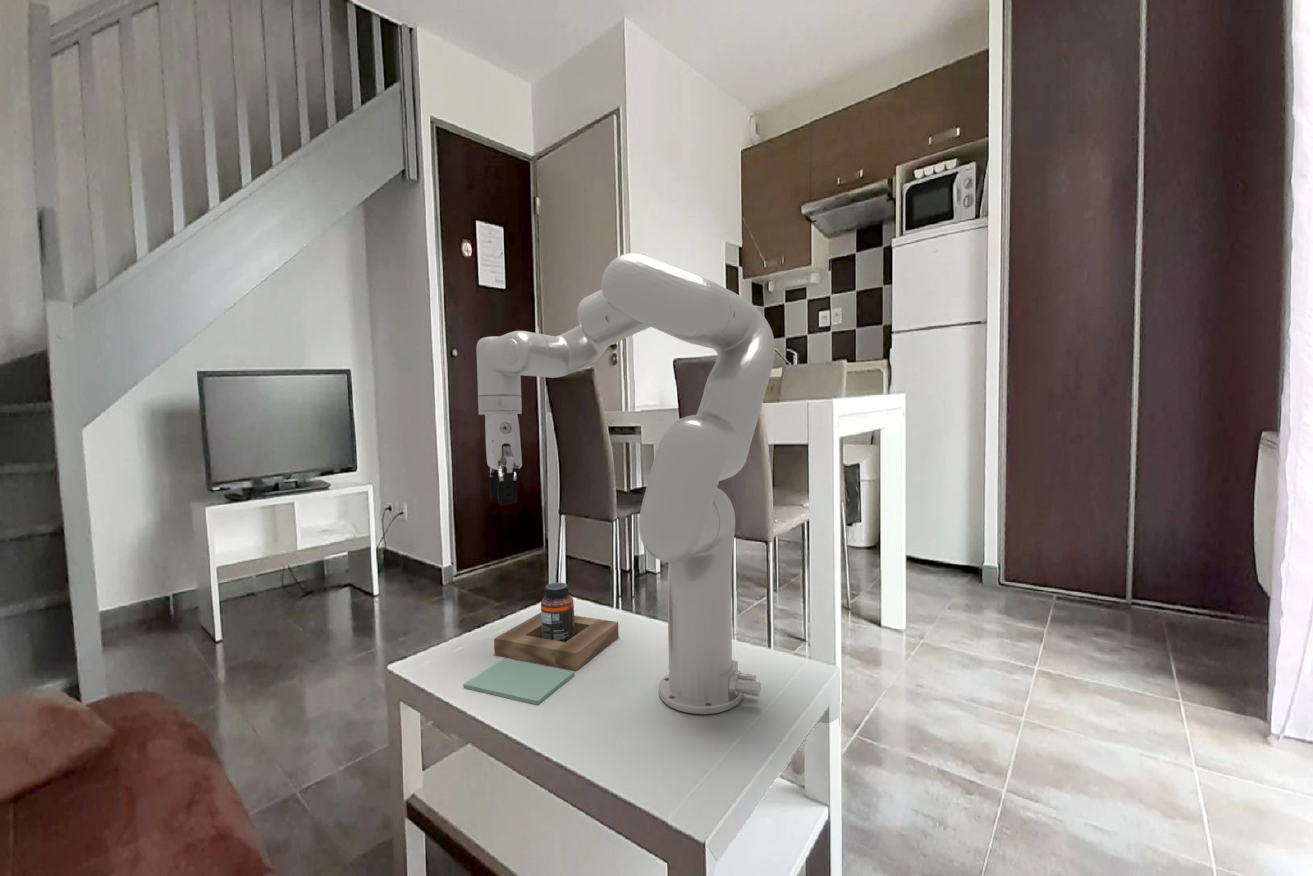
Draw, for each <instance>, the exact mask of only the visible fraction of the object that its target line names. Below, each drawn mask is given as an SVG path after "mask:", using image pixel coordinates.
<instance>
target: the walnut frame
mask: <svg viewBox="0 0 1313 876" xmlns="http://www.w3.org/2000/svg"><path fill="white" fill-rule="evenodd" d="M574 628H575V636H574V637H572V638H571V639H569V640H568V641H566V642H561V641H555V640H549V639H544V638H542V620H541V612H539V613H537V614H536V615H534V616H532V617H530V618H528V619H527V620H524V621H522V622H521V623H520V624H517V625H516V626H514V627H512V628H510V629H509V630H507V631H504V632H503V633H501V634H500V635H497V636H496V637H494V638H493V643H494V645H493V646H494V647H493V649H494V651H493V652H494V656H496V657H503V658H506V659H511V660H516V661H521V662H526V663H532V664H537V665H542V666H547V667H552V668H557V669H562V670H567V671H573V672H577V671H579V670H580V669H581V668H582V667H584V666H585V665H586V664H588V663H589V662H590V661H591V660H592V659H594V658H595V657H596V656H598V655H599V654H600V653H601V652H603V651H604V650H605V649H606V648H608V646H610V645H611V644H613V643H614V642H615V641H616V640H617V639H619V638H620V637H619V622H618V621H616V620H615V621H614V620H607V619H599V618H594V617H588V616H587V617H586V616H579V615H574Z"/></svg>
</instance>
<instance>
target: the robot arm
mask: <svg viewBox="0 0 1313 876" xmlns="http://www.w3.org/2000/svg"><path fill="white" fill-rule="evenodd" d="M600 287H601V289H599V290H597V291H596V292H593V293H592V294H590V295H588V296H585V297H583V299H581V300H580V302H579V303H578V307H577V319H578V323H579V325H577V326H576V327H574V328H572V329H570V330H568V331H565V332H564V333H561V334H560V335H559V334H558V335H556V336H554V335H548V334H544V333H538V332H532V331H527V330H514V331H511V332H508V333H505V334H502V335H500V336H495V335H494V336H493V335H492V336H486V337H485V336H484V337H482V338H480V339H479V340H478V341H477V343H476V373H477V400H478V401H477V404H478V405H477V406H478V409H477V410H478V415H479V416H483V415H484V420H485V421H484V422H485V423H484V426H485V451H486V452H485V453H486V463H487V466H488V467H489V497H490V498H491V499H497V500H498V501H497V503H498V505H500V506H506V505H514V504H517V503H518V481H517V473H516V469H521V468H522V466H523V460H522V459H523V458H522V457H523V456H522V447H521V446H522V445H521V431H520V424H519V423H520V422H519V416H518V415H522V382H521V381H522V380H521V376H527V377H538V378H539V377H542V378H548V379H549V378H551V379H554V378H561V377H564V376H567V375H570V374H572V373H574V372H576V371H579V370H581V369H584V368H586V367H588V366H590V365H591V364H593V363H595V362H596V361H597V360H598V359H599V358H600V357H601V356H602V355H603V354H604V353H605V352H606V350H607V348H608V347H610V346H612V345H615V344H617V343H618V342H621V341H624V340H625V339H627V338H629V337H631V336H634V335H635V334H637V333H640V332H642V331H645V330H647V329H649V328H654V329H656V330H657V331H660V332H662V333H665V334H667V335H669V336H671V337H673V338H676V339H678V340H680V341H683V342H686V343H689V344H692V345H697V346H700V347H705V348H709V349H712V350H714V351H715V352H716V353H717V359H716V361H715V363H714V366H713V367H712V369H711V371H710V373H709V374H708V376H707V380H706V383H705V386H704V389H703V394H702V397H701V401H700V404H699V407H698V410H697V413H696V414H692V415H686V416H684V417H681V418H680V419H677V420H676V421H675V422H673V423H672V424H671V425H669V427H668V428H667V429H666V431H665V432H664V434H663V435H662V437H661V438H660V441H659V442H658V445H657V447H656V450H655V451H656V452H655V454H654V458H653V462H652V465H651V469H650V473H649V477H648V480H647V484H646V488H645V492H644V496H643V499H642V501H641V502H642V503H641V507H640V512H639V517H638V531H639V536H640V539H641V543H642V544H643V547H644V548H645V549H646V551H647V552H648V553H649V555H651V556H652V557H654V558H655V559H657V560H659V561H661V562H664V563H668V566H667V567H668V568H667V569H668V570H667V623H668V624H667V629H668V631H667V632H668V636H667V638H668V641H667V642H668V674H666V675H665V676H664V677H663V678H662V679H661V680H660V681H659V685H658V694H659V698H660V699H661V700H662V701H663V702H664V704H666V705H667V706H669V707H670V708H672V709H674V710H677V711H680V712H683V713H688V714H694V715H713V714H718V713H722V712H726V711H728V710H730V709H733V708H734V707H736V706H737V705H739V704H740V702H741V701H742V699H743V697H744V694H746V695H748V696H753V697H757V698H759V697H760V696H761V695H760V694H761V690H762V687H761V686H762V685H761V684H762V683H761V682H760V681H757V675H756V674H749V673H742V672H741V671H742V670H741V671H740V670H739V667H738V666H739V665H738V663H739V661H738V660H737V661H736V660H733V634H732V633H733V631H732V629H733V628H732V627H733V626H732V625H733V624H732V622H733V621H732V614H733V613H732V565H733V564H732V562H733V551H734V543H735V532H736V514H735V509H734V506H733V504H732V501H731V500H730V498H729V497H728V495H727V494H726V493H725V492H724V491H723V490H722V489H721V488H719V487H718V486H719V483H720V482H721V481H724V480H727V479H729V478H731V477H734V476H735V475H737V474H738V473H739V472H740V471H741V470H743V467H744V465H745V464H746V462H747V458H748V456H749V451H750V448H751V444H752V441H753V438H754V434H755V430H756V427H757V424H758V420H759V417H760V413H761V409H762V406H763V402H764V398H765V394H766V391H767V388H768V384H769V380H770V379H771V374H772V371H773V367H774V362H775V355H776V354H775V353H776V345H775V343H776V342H775V338H774V333H773V330H772V327H771V326H770V324H769V322H768V320H767V319H766V316H764V315H763V314H762V313H761V312H760V310H759V309H757V307H755V306H754V304H752V303H751V302H749V300H747V299H745V297H742V296H741V295H739V294H737V293H736V292H734V291H732V290H730V289H728V288H725V287H723V286H722V285H720V284H718V283H716V282H714V281H712V280H710V279H708V278H705V277H702V276H700V275H697V274H694V273H692V272H688V271H686V270H684V269H681V268H679V267H675V266H673V265H670V264H668V263H665V262H662V261H659V260H657V259H654V258H652V257H650V256H647V255H645V254H643V253H641V252H640V253H639V252H629V253H624V254H621V255H619V256H617V257H616V258H614V259H613V260H611V261H610V262H609V264H608V265H607V267H606V268H605V270H604V272H603V274H602V278H601V284H600Z"/></svg>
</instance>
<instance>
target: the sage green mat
mask: <svg viewBox="0 0 1313 876" xmlns="http://www.w3.org/2000/svg"><path fill="white" fill-rule="evenodd" d="M574 676H575V671H573V670H568V669H563V668H558V667H553V666H548V665H543V664H538V663H532V662H527V661H522V660H517V659H512V658H507V657H504V658H503V659H501V660H500V661H498V662H497V663H495V664H493V665H492V666H490V667H488V668H487V669H485V670H484V671H482V672H481V673H479V674H477V675H476V676H474V677H472V678H471V679H469V680H467V681H466V682H465V683H463V684H462V686H463V687H462V688H463V689H466V690H470V691H475V692H479V693H485V694H488V695H493V696H497V697H501V698H507V699H510V700H515V701H518V702H524V703H527V704H531V705H532V704H533V705H536V706H538V705H539V704H541V703H542V702H543V701H545V700H546V699H547V698H549V697H550V696H551V695H552V694H553V693H555V692H556V691H558V689H560V688H561V687H563V685H565V684H566V683H567V682H569V680H572V678H573V677H574Z"/></svg>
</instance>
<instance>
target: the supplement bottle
mask: <svg viewBox="0 0 1313 876" xmlns="http://www.w3.org/2000/svg"><path fill="white" fill-rule="evenodd" d="M568 588H569V587H568V584H567V583H565V582H553V583H549V584H547V585H545V596H543V598H542V599H541V602H540V613H541V620H542V638H544V639H549V640H555V641H561V642H566V641H568V640H569V639H571V638H572V637H574V636H575V628H574V616H575V609H574V608H575V607H574V605H575V604H574V603H575V601H574V598H573V596H572V595H570V594H569V593H568V592H569V589H568Z"/></svg>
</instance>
